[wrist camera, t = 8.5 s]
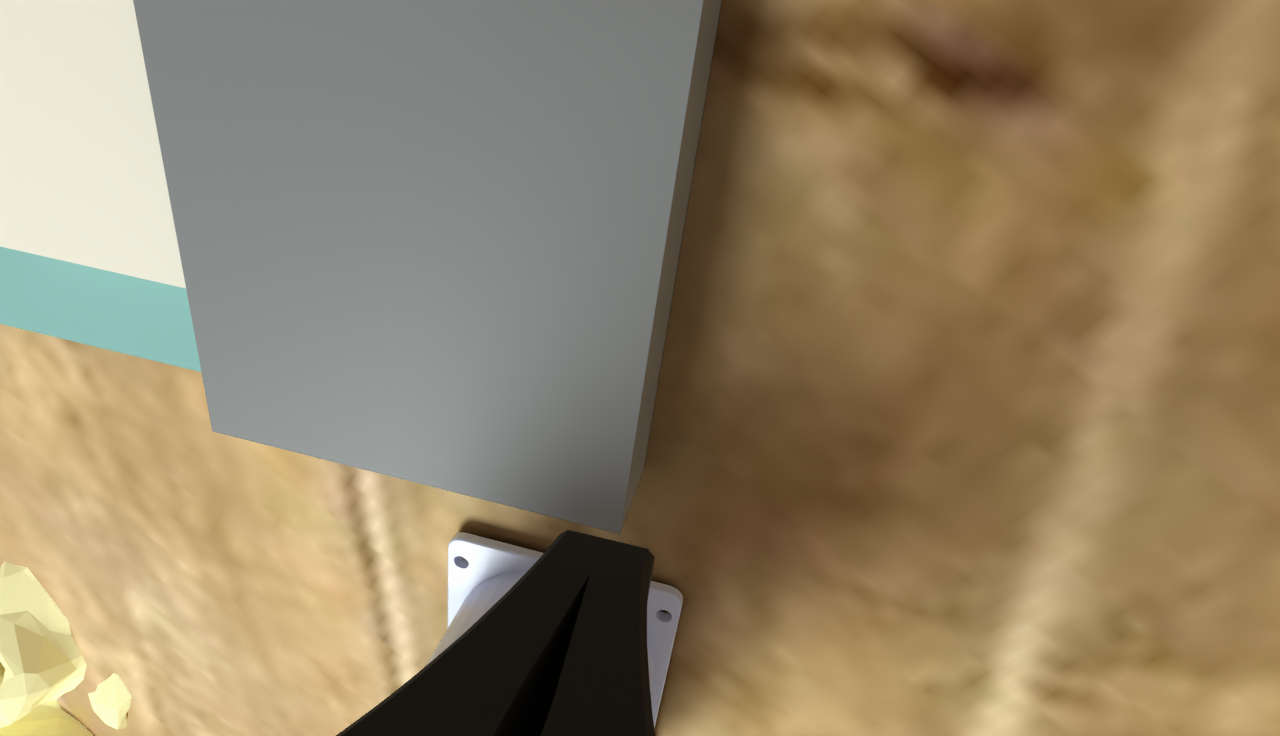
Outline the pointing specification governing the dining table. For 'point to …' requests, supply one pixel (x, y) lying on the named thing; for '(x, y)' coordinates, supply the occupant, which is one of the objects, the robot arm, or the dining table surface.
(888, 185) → the dining table surface
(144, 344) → the drip mat
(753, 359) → the dining table surface
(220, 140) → the riser
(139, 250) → the coaster
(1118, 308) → the dining table surface
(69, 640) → the cloth
